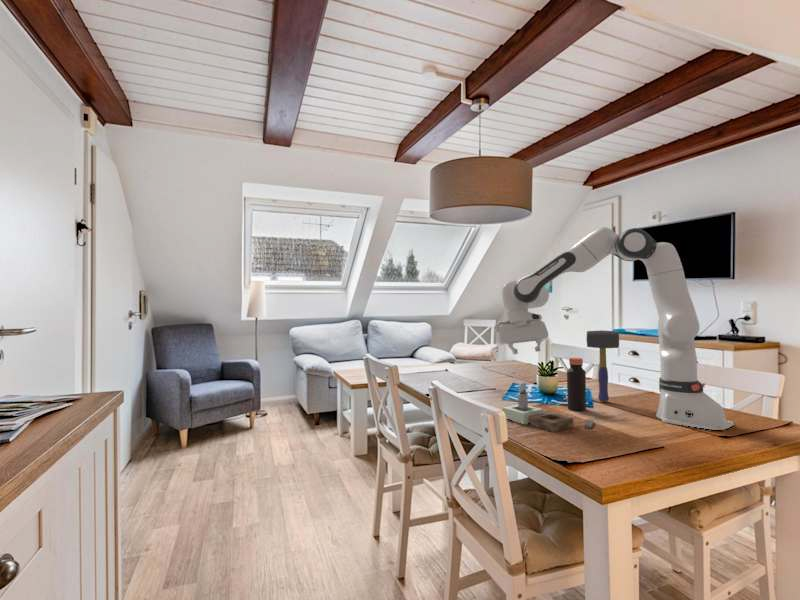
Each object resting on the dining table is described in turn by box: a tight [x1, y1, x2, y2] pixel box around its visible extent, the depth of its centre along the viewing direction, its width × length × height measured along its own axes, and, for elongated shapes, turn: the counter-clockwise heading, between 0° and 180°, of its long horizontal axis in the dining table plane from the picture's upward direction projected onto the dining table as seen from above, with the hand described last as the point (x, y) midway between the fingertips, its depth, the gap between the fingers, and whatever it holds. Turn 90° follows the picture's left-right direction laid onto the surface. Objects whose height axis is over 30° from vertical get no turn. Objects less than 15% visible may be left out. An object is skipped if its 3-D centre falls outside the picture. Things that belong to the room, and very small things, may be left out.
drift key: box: [584, 419, 595, 430], centre depth 148 cm, size 8×2×1 cm, turn 148°
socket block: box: [529, 411, 574, 433], centre depth 148 cm, size 10×10×3 cm
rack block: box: [502, 404, 544, 425], centre depth 156 cm, size 10×10×4 cm
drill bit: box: [517, 382, 529, 411], centre depth 156 cm, size 3×3×13 cm
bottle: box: [566, 357, 587, 412], centre depth 169 cm, size 7×7×20 cm
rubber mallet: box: [586, 330, 620, 403], centre depth 180 cm, size 12×8×30 cm, turn 66°
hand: (526, 352), depth 170 cm, fingers open, 8 cm apart
